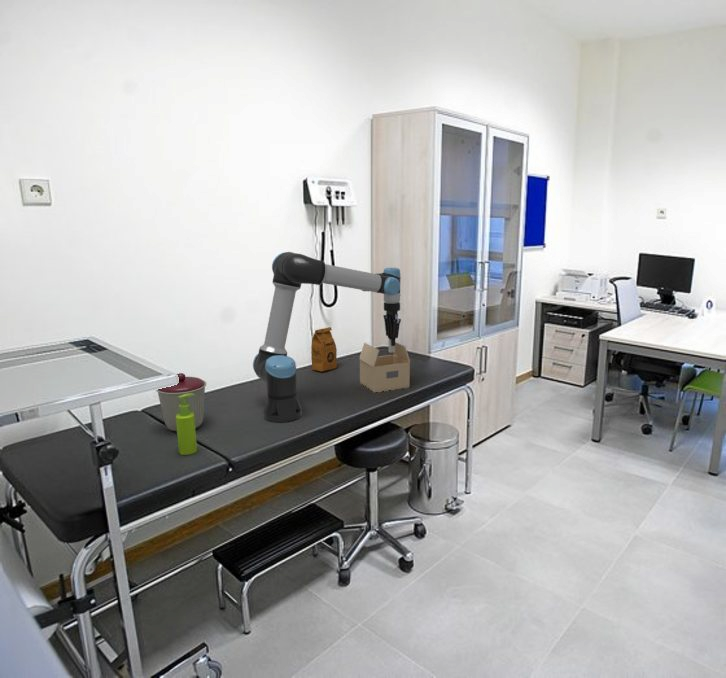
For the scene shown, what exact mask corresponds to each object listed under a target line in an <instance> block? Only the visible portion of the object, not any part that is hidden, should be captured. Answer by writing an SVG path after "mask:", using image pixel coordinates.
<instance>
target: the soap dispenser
mask: <svg viewBox="0 0 726 678" xmlns="http://www.w3.org/2000/svg"><path fill="white" fill-rule="evenodd" d="M190 396H195V394H193V393H187V394H183V395H181V396H178V398H179V399H181V404H180V405H179V414H177V415H176V425H177V431H176V433H177V444H178V445H177V446H178V453H179V454H180V455H183V456H189V455H193V454H195V453H197V452H198V443H197V433H196V432H197V431H196V428H195V418H194V413H192V412H190V406H189V404H187V402H186V398H187V397H190Z"/></svg>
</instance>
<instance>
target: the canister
mask: <svg viewBox="0 0 726 678" xmlns="http://www.w3.org/2000/svg"><path fill="white" fill-rule="evenodd" d="M176 375H178V377H179V383H178V384H177V385H174V386H171V387H166V388H162V389H158V390H155V391H156V392H157V394H158V400H159V403H160V405H159V406H160V408H161V414H162V416H163V420H164V424H165V426H166V428H168V430H169V431H173V432H177V425H176V415H177V414H179V405H180V404H181V399H179V398H178V396H181V395H183V394H187V393H193V394H195V396H190V397H187V398H186V402H187V404H189V406H190V412H192V413H194V418H195V429H198V427H201V425H202V424H203V421H204V415H205V414H204V412H205V396H206V392H205V390H206V388H205V387H206V386H207V381H205V380H203V379H202V378H199V377H195V376H186V374H185V373H182V372H180V373H176Z"/></svg>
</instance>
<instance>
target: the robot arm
mask: <svg viewBox="0 0 726 678" xmlns="http://www.w3.org/2000/svg"><path fill="white" fill-rule="evenodd" d="M271 269H272V273H273V278H272V284H273V286H274V291H273V297H272V301H271V306H270V307H271V308H270V312H269V317H268V323H267V327H266V333H265V338H264V343H263V344H262V345H261V346H260V347H259V349H258V353H257V354H256V356H255V357H254V359H253V361H252V368H253V370H254V373H255V375H256V376H257V378H258V379H260V380H262V381H263V382H264V383H265V384H266V394H267V395H266V397H267V398H266V402H265V405H264V409H263V418H264V420H266V421H269V422H272V423H287V422H288V421H289V422H293V421H295V419H296V420H298V419H300V418H301V417H302V415H303V412H302V411H303V409H302V406H301V404H300V401H299V398H298V394H297V393H298V392H297V391H298V390H297V366H296V361H295V359H294V358H292V357H290V356H288V351H287V349H286V343H287V337H288V332H289V328H290V322H291V319H292V315H293V309H294V303H295V299H296V293H297V291H299V290H300V289H301V287H302V285H305V284H306V285H316V286H317V285H318V286H320V285H322V284H326V285H331V286H336V287H342V288H349V289H354V290H359V291H363V292H372V293H376V294H382V295H383V310H384V312H385V314H383V320H384V328H385V336H386V337H387V339H388V353H393V352H395V342H396V339H398V338H399V331H400V325H401V322H402V319H401V318H399V313H398V312H399V311H400V310H401V302H400V301H401V270H400V268H397V267H385V268H384V269H383V272H381V273H372V272H368V271H362V270H357V269H352V268H347V267H342V266H337V265H333V264H332V265H331V264H327V263H326V262H325V261H323V260H321V259H316V258H312V257H310V256H307V255H305V254H302V253H295V252H292V251H285V252H282V253H279V254H278V255H277V256H275V258H274V259H273V261H272V263H271ZM292 420H293V421H292Z"/></svg>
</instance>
